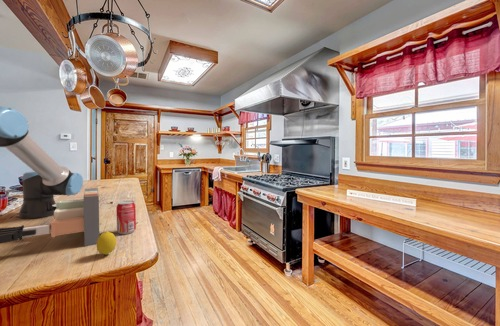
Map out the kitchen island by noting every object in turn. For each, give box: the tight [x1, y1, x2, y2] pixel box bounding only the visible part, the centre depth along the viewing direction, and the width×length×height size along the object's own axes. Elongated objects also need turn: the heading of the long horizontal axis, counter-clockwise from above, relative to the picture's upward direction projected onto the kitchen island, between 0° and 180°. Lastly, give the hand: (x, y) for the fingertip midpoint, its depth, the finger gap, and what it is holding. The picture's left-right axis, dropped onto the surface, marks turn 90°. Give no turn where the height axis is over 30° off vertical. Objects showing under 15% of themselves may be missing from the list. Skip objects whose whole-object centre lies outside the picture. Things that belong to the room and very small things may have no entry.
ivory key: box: [53, 207, 84, 220], centre depth 88 cm, size 5×13×5 cm, turn 125°
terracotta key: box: [50, 217, 84, 238], centre depth 82 cm, size 5×13×5 cm, turn 125°
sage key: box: [55, 198, 84, 210], centre depth 93 cm, size 5×13×5 cm, turn 125°
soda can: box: [115, 200, 137, 235], centre depth 96 cm, size 7×7×13 cm
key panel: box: [83, 187, 100, 247], centre depth 91 cm, size 20×4×19 cm, turn 35°
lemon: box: [96, 230, 117, 256], centre depth 75 cm, size 6×6×8 cm
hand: (49, 228), depth 78 cm, fingers closed
